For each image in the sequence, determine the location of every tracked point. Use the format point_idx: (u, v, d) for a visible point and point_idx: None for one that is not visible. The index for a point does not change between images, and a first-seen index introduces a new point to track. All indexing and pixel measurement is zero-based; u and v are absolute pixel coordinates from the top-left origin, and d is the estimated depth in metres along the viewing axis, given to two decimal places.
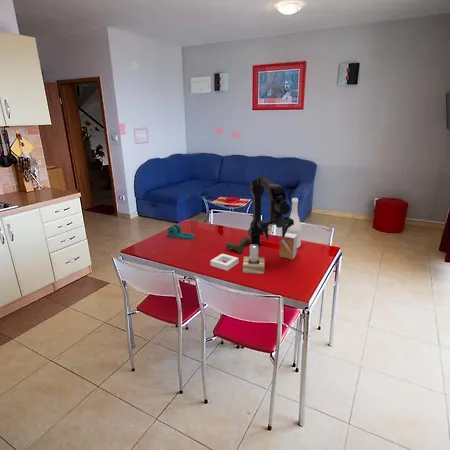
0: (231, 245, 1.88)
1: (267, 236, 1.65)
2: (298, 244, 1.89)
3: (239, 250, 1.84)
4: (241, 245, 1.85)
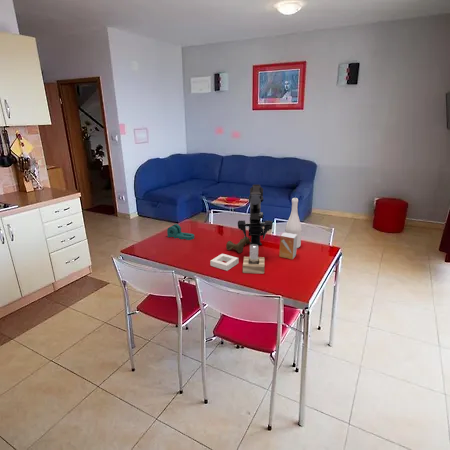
0: (231, 245, 1.88)
1: (245, 234, 1.70)
2: (298, 244, 1.89)
3: (239, 250, 1.84)
4: (241, 245, 1.85)
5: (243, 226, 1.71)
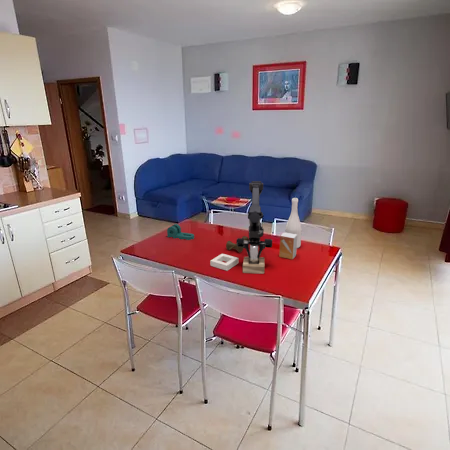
0: (231, 245, 1.88)
1: (248, 253, 1.64)
2: (298, 244, 1.89)
3: (239, 249, 1.85)
4: None
5: (246, 244, 1.64)
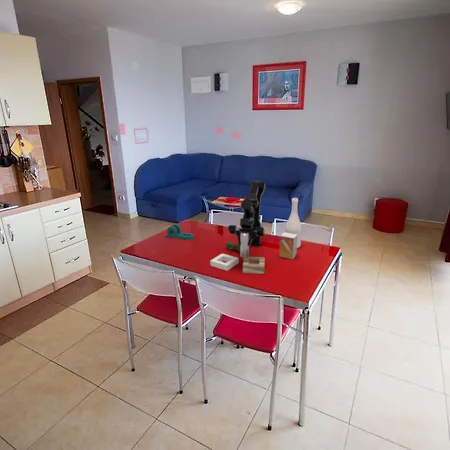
0: (231, 245, 1.88)
1: (239, 240, 1.63)
2: (298, 244, 1.89)
3: None
4: None
5: (237, 231, 1.63)
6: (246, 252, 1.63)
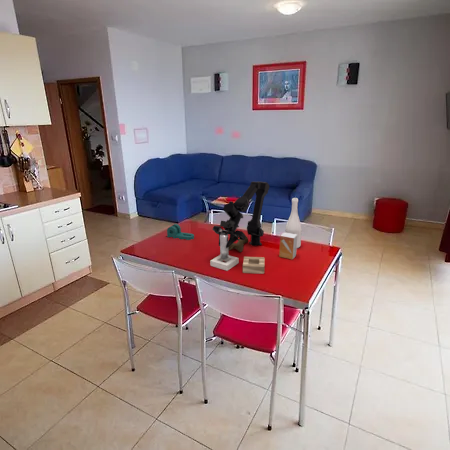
0: (231, 244, 1.88)
1: (219, 241, 1.69)
2: (298, 244, 1.89)
3: (240, 249, 1.85)
4: (241, 244, 1.86)
5: (219, 232, 1.70)
6: (224, 253, 1.68)
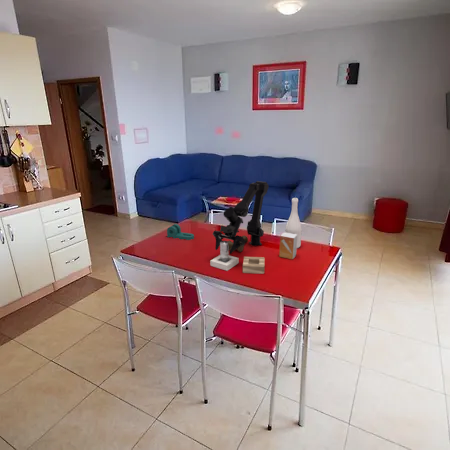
0: (231, 244, 1.88)
1: (216, 245, 1.71)
2: (298, 244, 1.89)
3: (240, 249, 1.85)
4: None
5: (216, 237, 1.72)
6: (224, 261, 1.69)
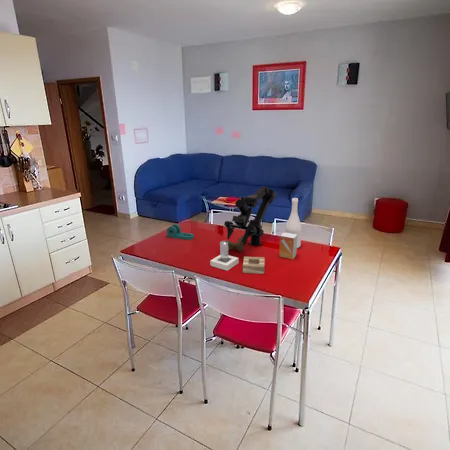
0: (231, 244, 1.88)
1: (228, 235, 1.77)
2: (298, 244, 1.89)
3: (240, 249, 1.86)
4: (242, 244, 1.87)
5: (227, 227, 1.78)
6: (224, 261, 1.69)
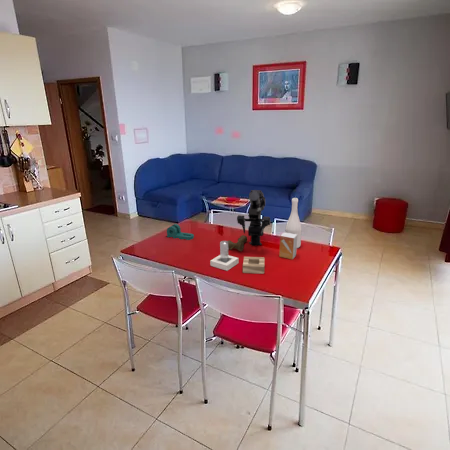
0: (231, 244, 1.89)
1: (243, 229, 1.78)
2: (298, 244, 1.89)
3: (240, 249, 1.86)
4: (242, 244, 1.87)
5: (242, 221, 1.79)
6: (224, 261, 1.69)
